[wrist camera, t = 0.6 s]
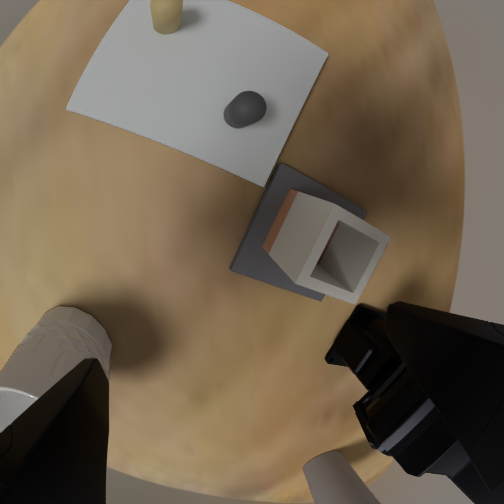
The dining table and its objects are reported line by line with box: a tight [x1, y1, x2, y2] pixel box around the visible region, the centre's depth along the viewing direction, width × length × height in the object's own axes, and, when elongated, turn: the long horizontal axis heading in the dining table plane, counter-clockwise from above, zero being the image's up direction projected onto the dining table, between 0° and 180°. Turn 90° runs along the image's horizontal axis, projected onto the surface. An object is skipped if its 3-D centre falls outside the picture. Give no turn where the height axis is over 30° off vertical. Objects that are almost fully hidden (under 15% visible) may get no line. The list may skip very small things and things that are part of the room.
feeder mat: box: [230, 163, 367, 301], centre depth 21 cm, size 8×8×1 cm
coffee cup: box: [303, 451, 381, 504], centre depth 28 cm, size 10×10×15 cm
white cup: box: [0, 306, 112, 432], centre depth 14 cm, size 8×8×10 cm
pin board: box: [66, 0, 329, 187], centre depth 14 cm, size 14×11×4 cm
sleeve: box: [262, 189, 390, 304], centre depth 17 cm, size 4×4×6 cm
